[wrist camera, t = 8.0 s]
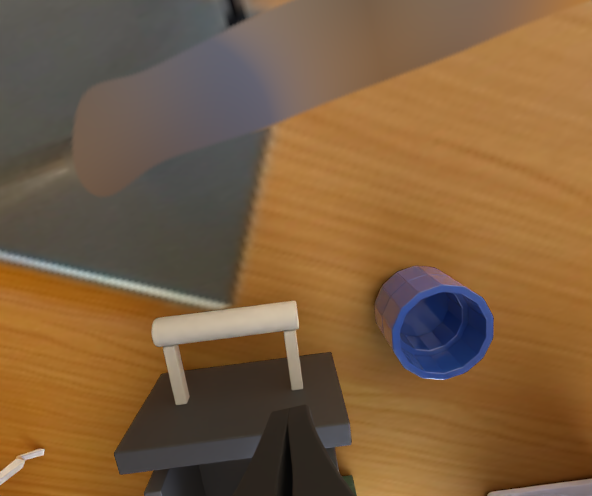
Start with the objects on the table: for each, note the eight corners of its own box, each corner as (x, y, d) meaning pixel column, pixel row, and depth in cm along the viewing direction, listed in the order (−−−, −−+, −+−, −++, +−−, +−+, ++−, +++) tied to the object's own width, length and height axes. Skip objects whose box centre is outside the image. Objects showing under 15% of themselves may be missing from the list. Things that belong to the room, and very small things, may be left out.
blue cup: (454, 257, 21) (494, 278, 17) (455, 337, 22) (493, 373, 18) (369, 268, 21) (389, 291, 17) (375, 347, 22) (395, 386, 18)
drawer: (143, 300, 20) (84, 356, 14) (323, 278, 20) (340, 324, 14) (198, 533, 23) (170, 654, 18) (348, 513, 24) (370, 627, 18)
